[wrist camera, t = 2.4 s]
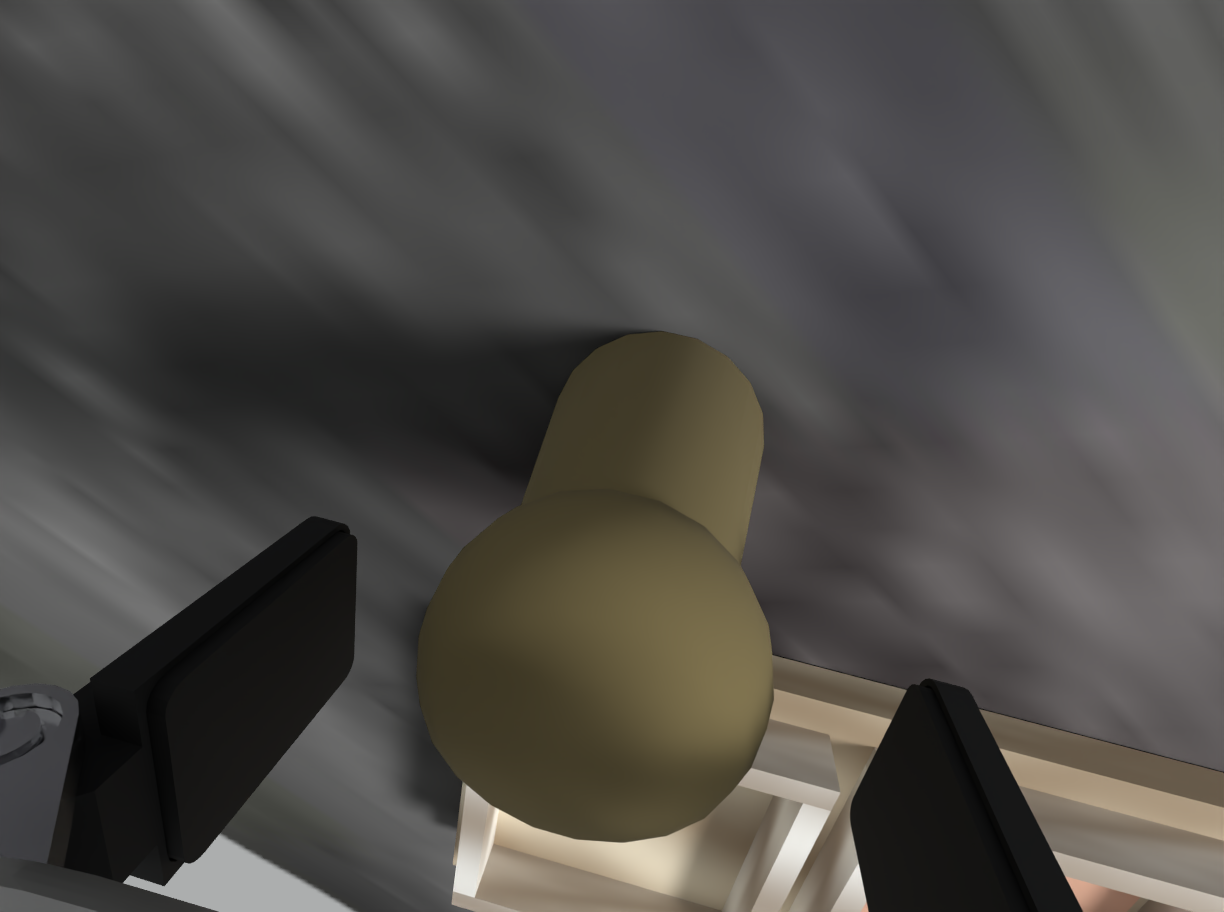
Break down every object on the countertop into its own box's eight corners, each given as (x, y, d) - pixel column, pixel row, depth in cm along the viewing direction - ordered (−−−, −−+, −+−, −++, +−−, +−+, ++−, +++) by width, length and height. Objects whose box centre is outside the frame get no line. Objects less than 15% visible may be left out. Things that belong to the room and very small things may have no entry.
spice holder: (499, 583, 21) (458, 655, 17) (1247, 778, 19) (1353, 898, 16) (466, 828, 26) (431, 917, 23) (1044, 998, 24) (1092, 1119, 21)
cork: (751, 538, 18) (784, 952, 8) (555, 517, 19) (374, 870, 9) (778, 338, 16) (870, 587, 6) (552, 324, 17) (303, 522, 7)
